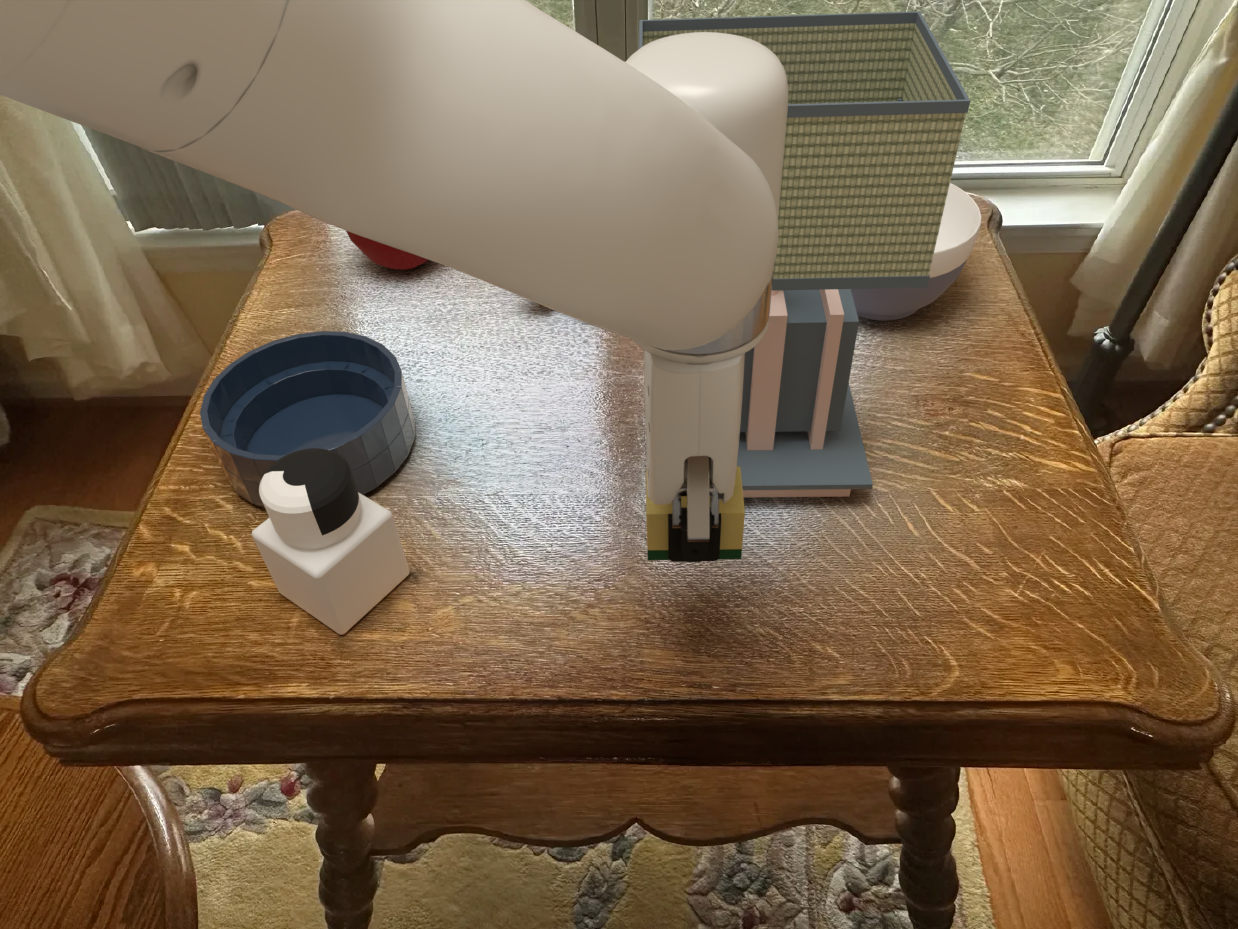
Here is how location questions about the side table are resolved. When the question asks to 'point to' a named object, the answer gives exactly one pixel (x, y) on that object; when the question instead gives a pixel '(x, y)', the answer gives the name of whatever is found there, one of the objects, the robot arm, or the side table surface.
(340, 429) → the bowl
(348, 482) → the medicine bottle
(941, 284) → the bowl
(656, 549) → the sponge
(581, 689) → the side table surface
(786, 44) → the desk lamp
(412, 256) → the apple
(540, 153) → the robot arm
